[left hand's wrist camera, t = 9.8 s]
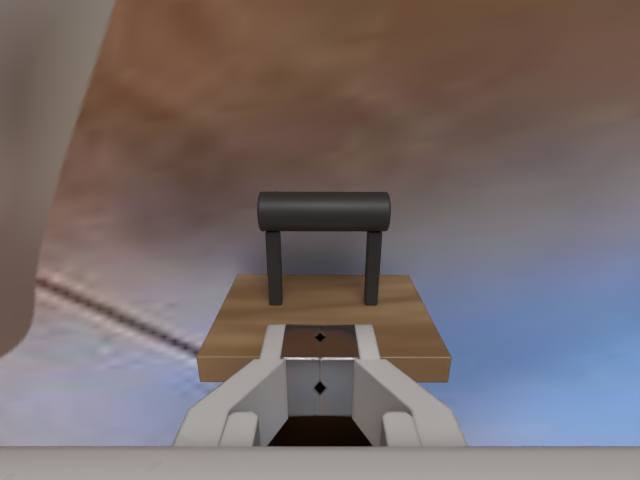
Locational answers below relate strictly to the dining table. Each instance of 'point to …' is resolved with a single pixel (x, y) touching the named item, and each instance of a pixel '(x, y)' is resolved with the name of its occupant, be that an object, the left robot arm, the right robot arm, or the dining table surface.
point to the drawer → (324, 305)
